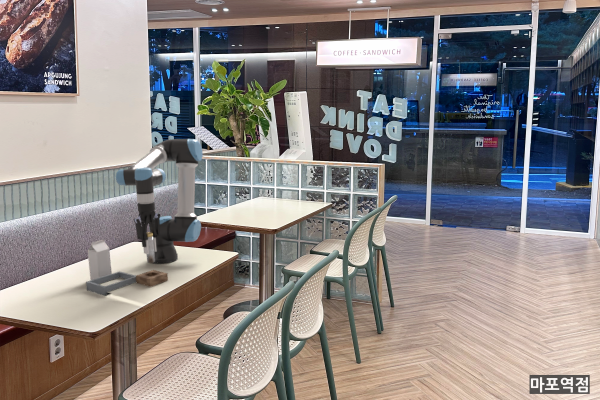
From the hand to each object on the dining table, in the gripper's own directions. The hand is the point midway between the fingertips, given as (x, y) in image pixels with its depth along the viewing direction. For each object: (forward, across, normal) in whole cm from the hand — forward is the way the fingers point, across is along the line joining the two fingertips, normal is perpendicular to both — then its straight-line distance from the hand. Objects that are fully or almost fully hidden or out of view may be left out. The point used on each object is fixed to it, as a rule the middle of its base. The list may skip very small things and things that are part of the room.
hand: (150, 252), depth 249 cm
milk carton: (+16, +9, -28) cm, 33 cm away
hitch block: (+15, +1, 0) cm, 16 cm away
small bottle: (+4, 0, 0) cm, 4 cm away
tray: (+15, +12, -13) cm, 24 cm away
